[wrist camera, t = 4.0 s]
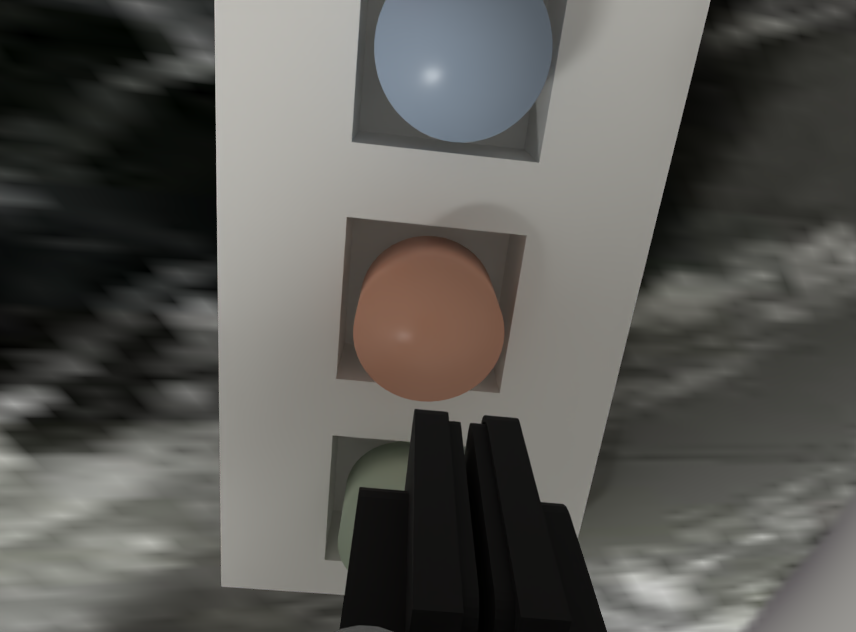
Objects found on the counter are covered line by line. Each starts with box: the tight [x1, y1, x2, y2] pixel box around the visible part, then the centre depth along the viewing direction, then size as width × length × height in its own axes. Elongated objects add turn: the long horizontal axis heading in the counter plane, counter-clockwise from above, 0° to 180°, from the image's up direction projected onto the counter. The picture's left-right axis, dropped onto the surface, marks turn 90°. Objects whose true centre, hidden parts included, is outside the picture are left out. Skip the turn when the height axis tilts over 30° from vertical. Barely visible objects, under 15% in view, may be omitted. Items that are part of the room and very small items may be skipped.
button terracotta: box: [353, 236, 504, 402], centre depth 18 cm, size 4×4×3 cm
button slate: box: [374, 0, 552, 143], centre depth 16 cm, size 4×4×3 cm
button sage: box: [338, 441, 410, 570], centre depth 21 cm, size 4×4×3 cm
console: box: [215, 0, 711, 595], centre depth 20 cm, size 22×12×3 cm, turn 174°
